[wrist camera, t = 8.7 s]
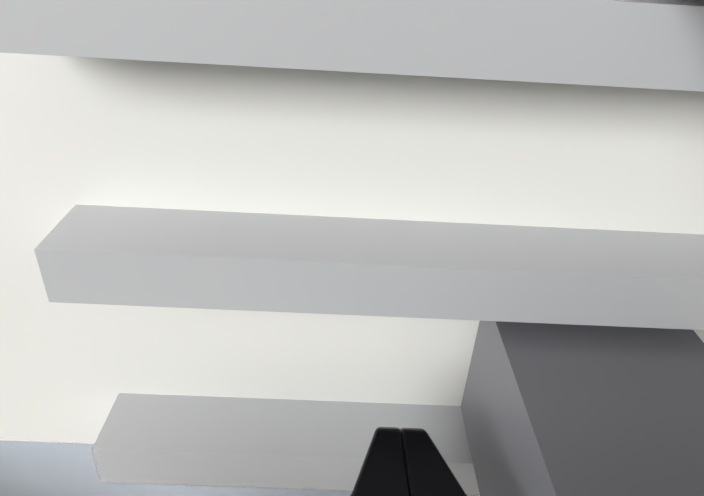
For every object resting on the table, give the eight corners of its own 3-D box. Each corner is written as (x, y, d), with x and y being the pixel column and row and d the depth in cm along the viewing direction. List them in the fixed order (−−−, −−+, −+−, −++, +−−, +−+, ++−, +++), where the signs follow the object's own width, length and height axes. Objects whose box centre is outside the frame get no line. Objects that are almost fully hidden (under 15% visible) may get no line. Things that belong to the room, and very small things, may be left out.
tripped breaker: (460, 407, 12) (529, 721, 7) (485, 293, 10) (592, 602, 6) (621, 413, 12) (788, 726, 7) (669, 301, 10) (921, 611, 6)
